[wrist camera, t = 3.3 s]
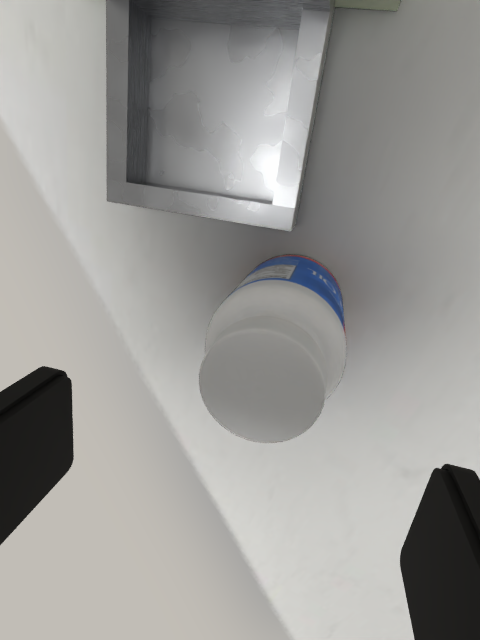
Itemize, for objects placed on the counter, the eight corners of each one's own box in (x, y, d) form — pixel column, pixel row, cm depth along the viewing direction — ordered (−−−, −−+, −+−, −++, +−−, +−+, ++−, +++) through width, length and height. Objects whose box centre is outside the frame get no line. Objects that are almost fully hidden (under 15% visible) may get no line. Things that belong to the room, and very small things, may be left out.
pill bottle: (355, 332, 20) (374, 452, 11) (263, 357, 22) (216, 477, 13) (324, 235, 19) (317, 285, 10) (228, 270, 21) (150, 338, 12)
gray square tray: (335, 7, 16) (336, -55, 12) (295, 225, 19) (285, 237, 15) (136, -7, 17) (74, -65, 13) (131, 198, 21) (81, 203, 16)
